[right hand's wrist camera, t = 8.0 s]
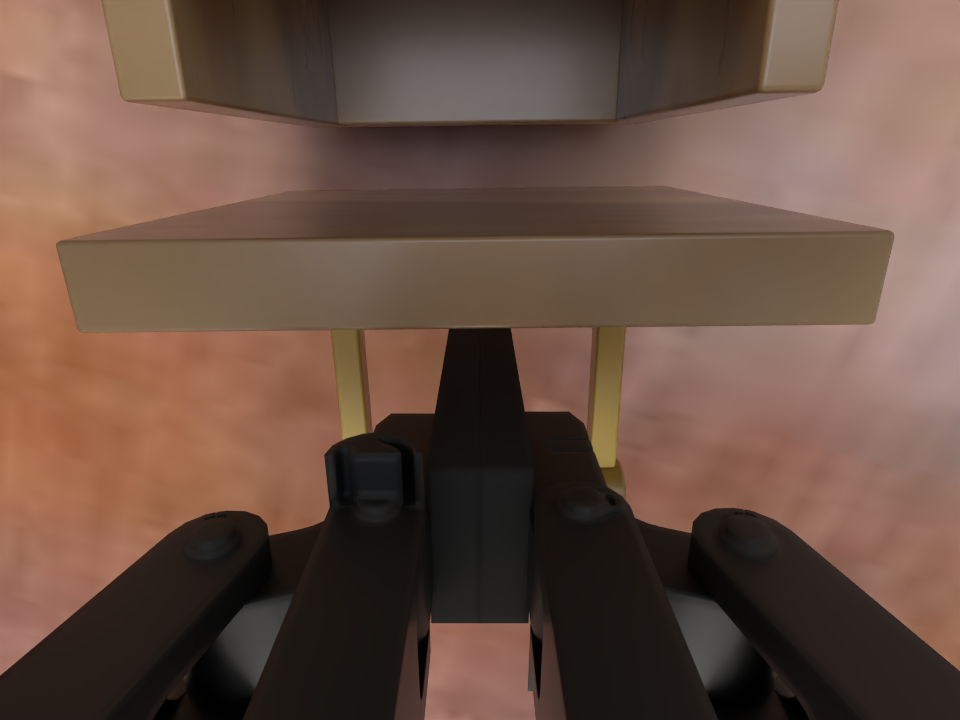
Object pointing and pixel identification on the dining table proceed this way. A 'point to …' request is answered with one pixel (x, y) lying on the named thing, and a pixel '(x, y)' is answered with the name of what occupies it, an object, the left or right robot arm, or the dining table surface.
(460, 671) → the dining table surface
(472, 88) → the drawer
